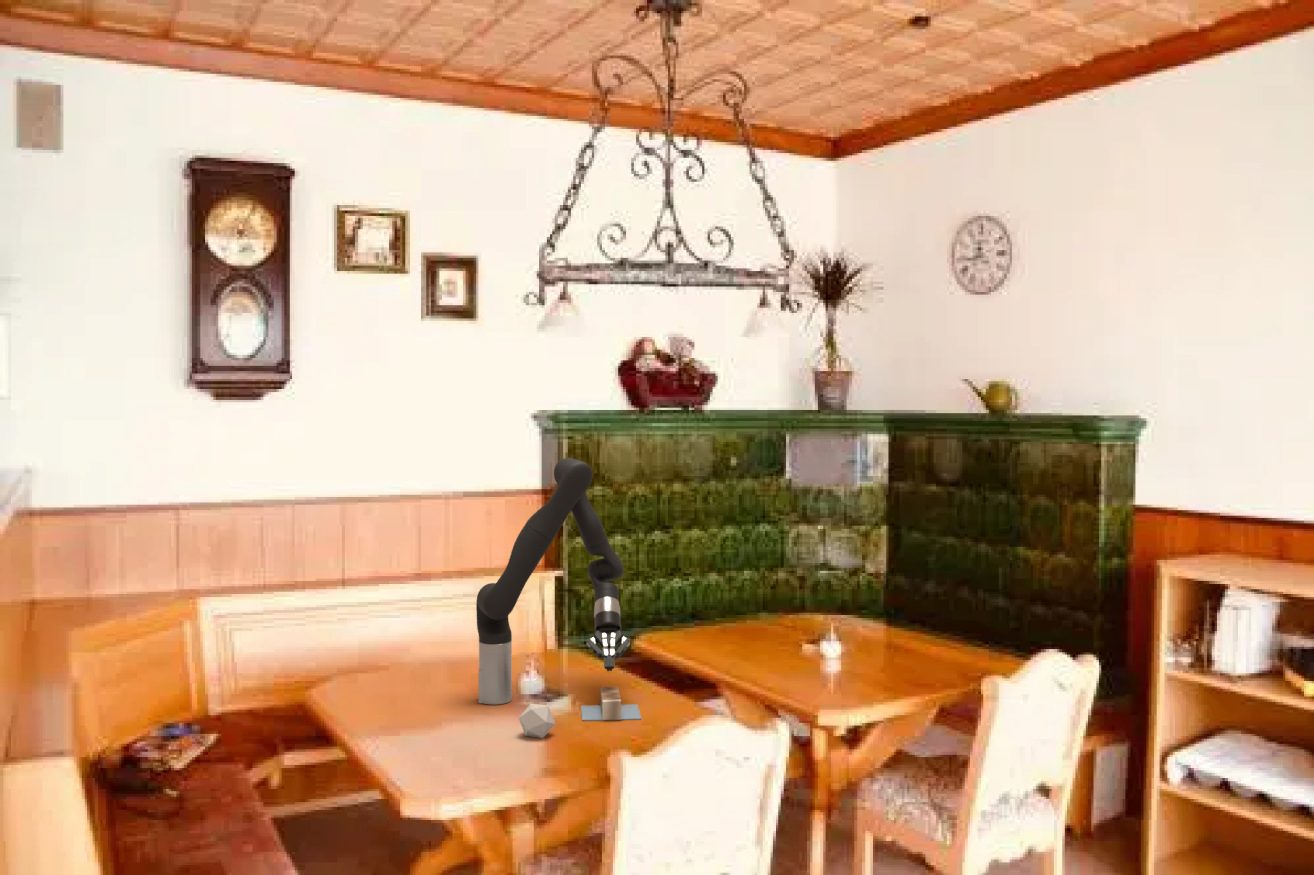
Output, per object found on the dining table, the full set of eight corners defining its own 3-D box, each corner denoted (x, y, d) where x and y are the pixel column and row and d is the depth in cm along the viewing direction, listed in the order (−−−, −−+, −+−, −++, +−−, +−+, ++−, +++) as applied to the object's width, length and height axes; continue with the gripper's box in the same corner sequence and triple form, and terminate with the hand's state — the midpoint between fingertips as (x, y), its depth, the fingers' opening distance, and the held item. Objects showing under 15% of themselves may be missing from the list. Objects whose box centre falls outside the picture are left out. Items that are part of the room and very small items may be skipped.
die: (560, 735, 296) (548, 701, 300) (555, 728, 288) (543, 693, 292) (530, 747, 295) (519, 713, 299) (524, 741, 287) (513, 705, 292)
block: (600, 704, 320) (602, 719, 306) (600, 687, 320) (602, 701, 306) (617, 704, 320) (621, 719, 307) (617, 686, 320) (621, 701, 306)
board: (582, 721, 306) (582, 719, 306) (580, 706, 319) (580, 705, 319) (641, 719, 308) (641, 718, 308) (637, 705, 320) (637, 704, 320)
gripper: (584, 609, 325) (586, 663, 313) (631, 609, 326) (634, 662, 315) (584, 624, 331) (585, 676, 319) (629, 623, 332) (632, 676, 320)
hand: (609, 669), depth 317 cm, fingers closed
